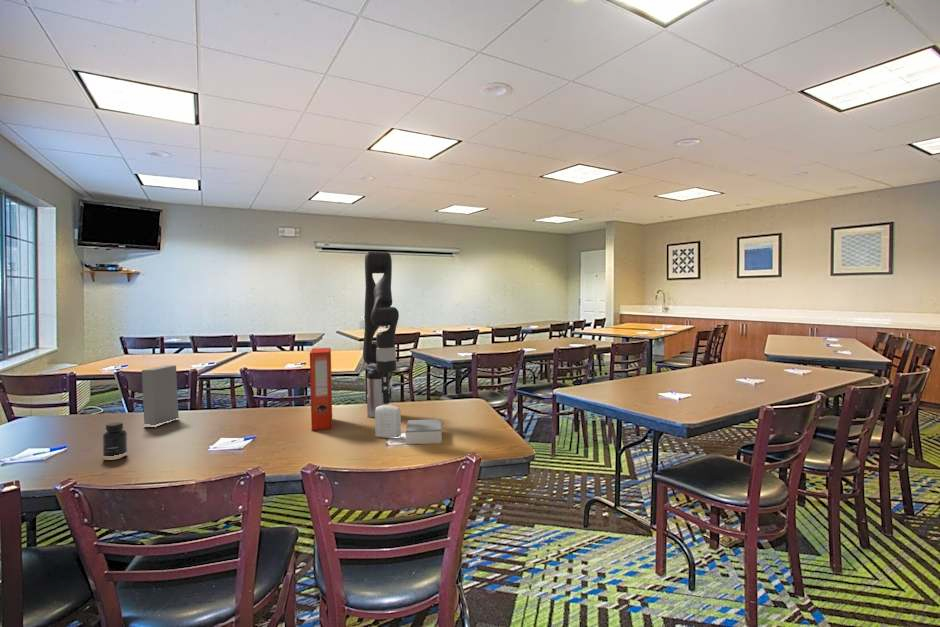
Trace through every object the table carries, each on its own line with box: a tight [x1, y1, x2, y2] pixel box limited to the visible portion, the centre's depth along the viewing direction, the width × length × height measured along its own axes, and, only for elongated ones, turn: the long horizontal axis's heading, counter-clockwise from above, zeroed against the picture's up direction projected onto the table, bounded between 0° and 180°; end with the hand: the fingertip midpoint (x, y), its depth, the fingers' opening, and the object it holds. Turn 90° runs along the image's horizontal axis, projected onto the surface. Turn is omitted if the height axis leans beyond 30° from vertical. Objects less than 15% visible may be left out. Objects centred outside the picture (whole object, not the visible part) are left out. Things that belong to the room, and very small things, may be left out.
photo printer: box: [374, 404, 402, 439], centre depth 186 cm, size 10×4×12 cm, turn 72°
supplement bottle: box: [102, 422, 128, 457], centre depth 168 cm, size 7×7×12 cm
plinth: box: [405, 418, 443, 445], centre depth 184 cm, size 13×15×5 cm
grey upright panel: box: [141, 364, 180, 425], centre depth 213 cm, size 14×6×25 cm, turn 172°
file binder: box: [309, 347, 333, 431], centre depth 205 cm, size 8×17×32 cm, turn 15°
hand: (387, 401), depth 186 cm, fingers open, 8 cm apart
